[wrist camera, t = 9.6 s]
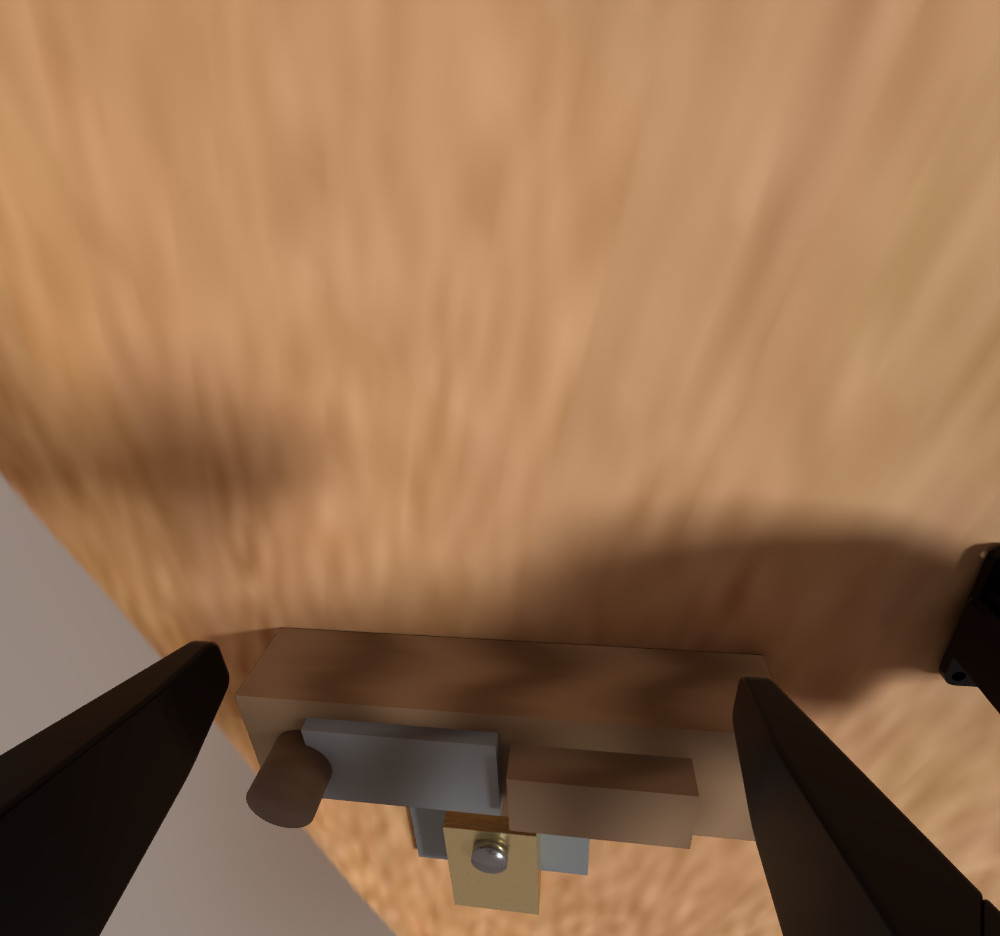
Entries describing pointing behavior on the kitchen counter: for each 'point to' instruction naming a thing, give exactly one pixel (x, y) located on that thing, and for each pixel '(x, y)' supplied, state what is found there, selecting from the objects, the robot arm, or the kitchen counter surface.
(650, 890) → the kitchen counter surface
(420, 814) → the mat
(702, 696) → the plane body
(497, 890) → the lever cap
